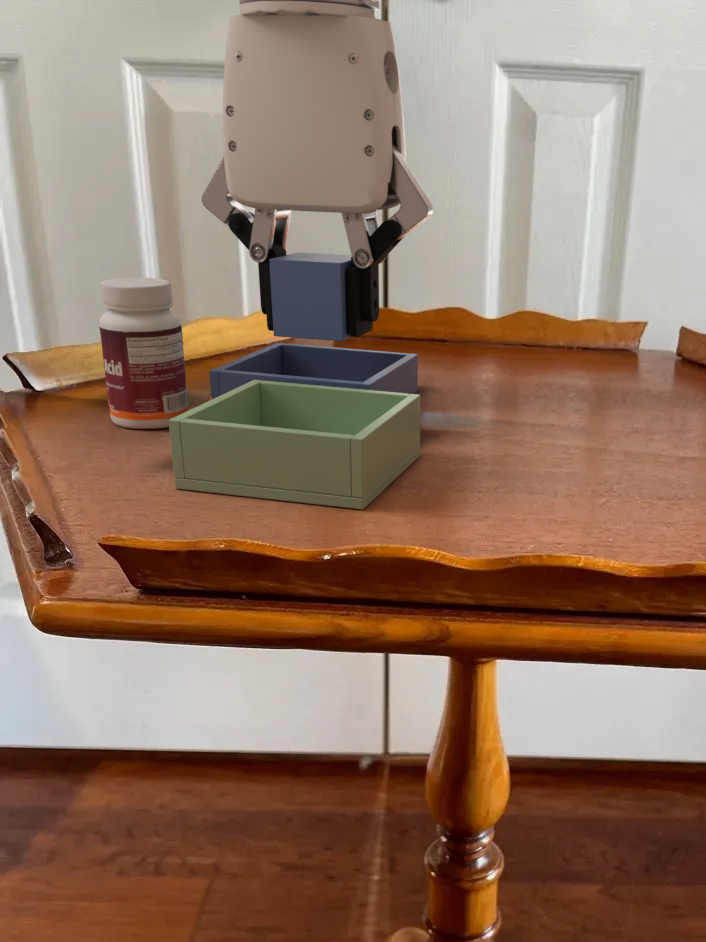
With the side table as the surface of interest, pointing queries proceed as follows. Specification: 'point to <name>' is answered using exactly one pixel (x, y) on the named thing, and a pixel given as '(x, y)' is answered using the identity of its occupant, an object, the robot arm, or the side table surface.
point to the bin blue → (320, 369)
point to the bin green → (297, 443)
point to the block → (309, 296)
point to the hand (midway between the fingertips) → (320, 327)
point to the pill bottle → (142, 353)
